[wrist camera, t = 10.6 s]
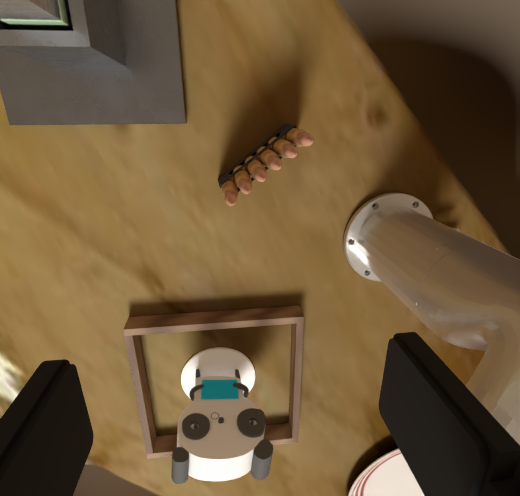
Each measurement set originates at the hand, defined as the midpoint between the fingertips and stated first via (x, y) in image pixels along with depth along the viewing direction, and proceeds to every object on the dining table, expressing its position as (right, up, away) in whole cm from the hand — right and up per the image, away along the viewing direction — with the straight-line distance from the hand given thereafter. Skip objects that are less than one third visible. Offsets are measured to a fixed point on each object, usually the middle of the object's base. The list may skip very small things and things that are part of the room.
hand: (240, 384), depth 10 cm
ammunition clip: (0, +15, +30) cm, 34 cm away
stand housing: (-17, +26, +24) cm, 39 cm away
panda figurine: (-6, -16, +42) cm, 45 cm away
